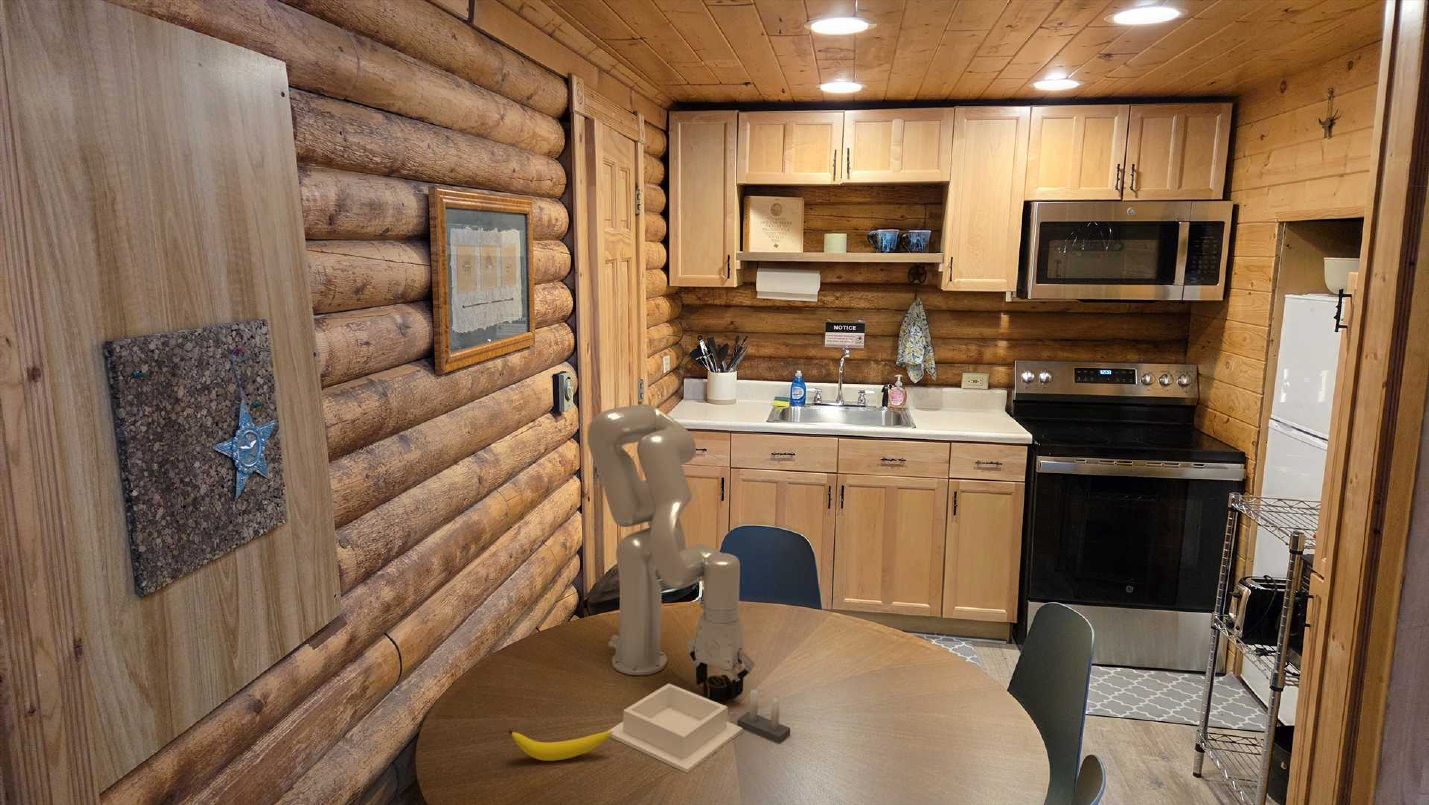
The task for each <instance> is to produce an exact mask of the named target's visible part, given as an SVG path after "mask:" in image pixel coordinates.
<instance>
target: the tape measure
mask: <svg viewBox="0 0 1429 805" xmlns="http://www.w3.org/2000/svg"><path fill="white" fill-rule="evenodd" d="M731 692H732V680H731V679H730V677H729V676H728V675H726V674H721V675H711V676H707V678H706V679H705V681H704V682H703V683H702V693H703V697H704V698H707V699H709V700H712V701H714V702H717V703H724V702H727V701H731V700H735V699H736V698H738V696H737V697H736V698H732V697H731Z"/></svg>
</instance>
